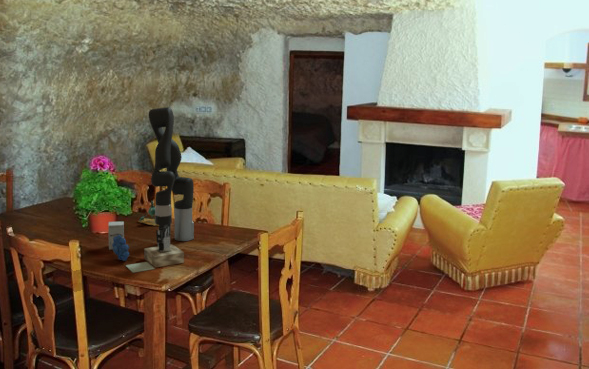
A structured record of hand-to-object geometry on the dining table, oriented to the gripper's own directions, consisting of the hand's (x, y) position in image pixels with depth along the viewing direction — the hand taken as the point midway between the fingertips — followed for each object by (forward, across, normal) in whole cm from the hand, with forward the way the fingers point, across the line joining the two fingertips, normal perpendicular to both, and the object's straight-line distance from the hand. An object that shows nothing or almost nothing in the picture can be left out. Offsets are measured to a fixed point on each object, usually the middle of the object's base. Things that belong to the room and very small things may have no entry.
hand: (163, 248), depth 275 cm
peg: (+6, 0, 0) cm, 6 cm away
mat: (+6, +11, -7) cm, 15 cm away
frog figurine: (+7, -61, -28) cm, 67 cm away
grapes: (+6, +4, -20) cm, 22 cm away
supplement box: (+6, -15, -29) cm, 33 cm away
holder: (+6, 0, 0) cm, 6 cm away
